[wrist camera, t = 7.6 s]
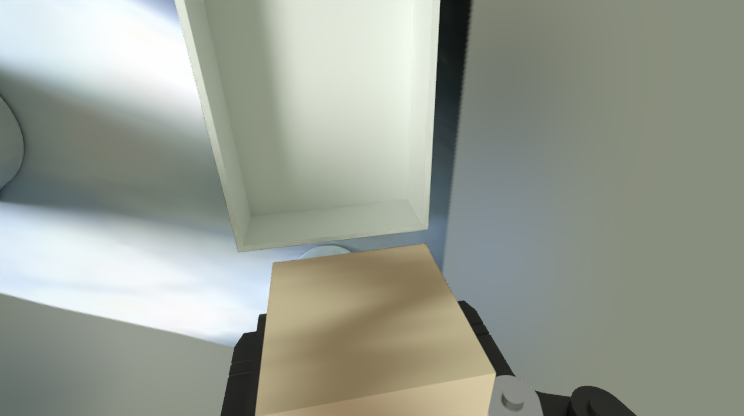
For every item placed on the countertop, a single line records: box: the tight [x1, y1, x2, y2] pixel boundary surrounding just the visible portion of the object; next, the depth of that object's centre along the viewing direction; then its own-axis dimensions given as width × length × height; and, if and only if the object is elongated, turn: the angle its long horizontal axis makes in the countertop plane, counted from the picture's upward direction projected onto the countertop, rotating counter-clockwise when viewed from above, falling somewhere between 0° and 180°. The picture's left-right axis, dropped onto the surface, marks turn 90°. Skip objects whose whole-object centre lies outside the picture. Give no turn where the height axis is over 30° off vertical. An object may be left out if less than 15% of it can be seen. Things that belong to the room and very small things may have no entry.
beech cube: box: [255, 244, 496, 416], centre depth 11 cm, size 5×5×5 cm
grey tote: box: [175, 0, 440, 252], centre depth 22 cm, size 17×13×5 cm
